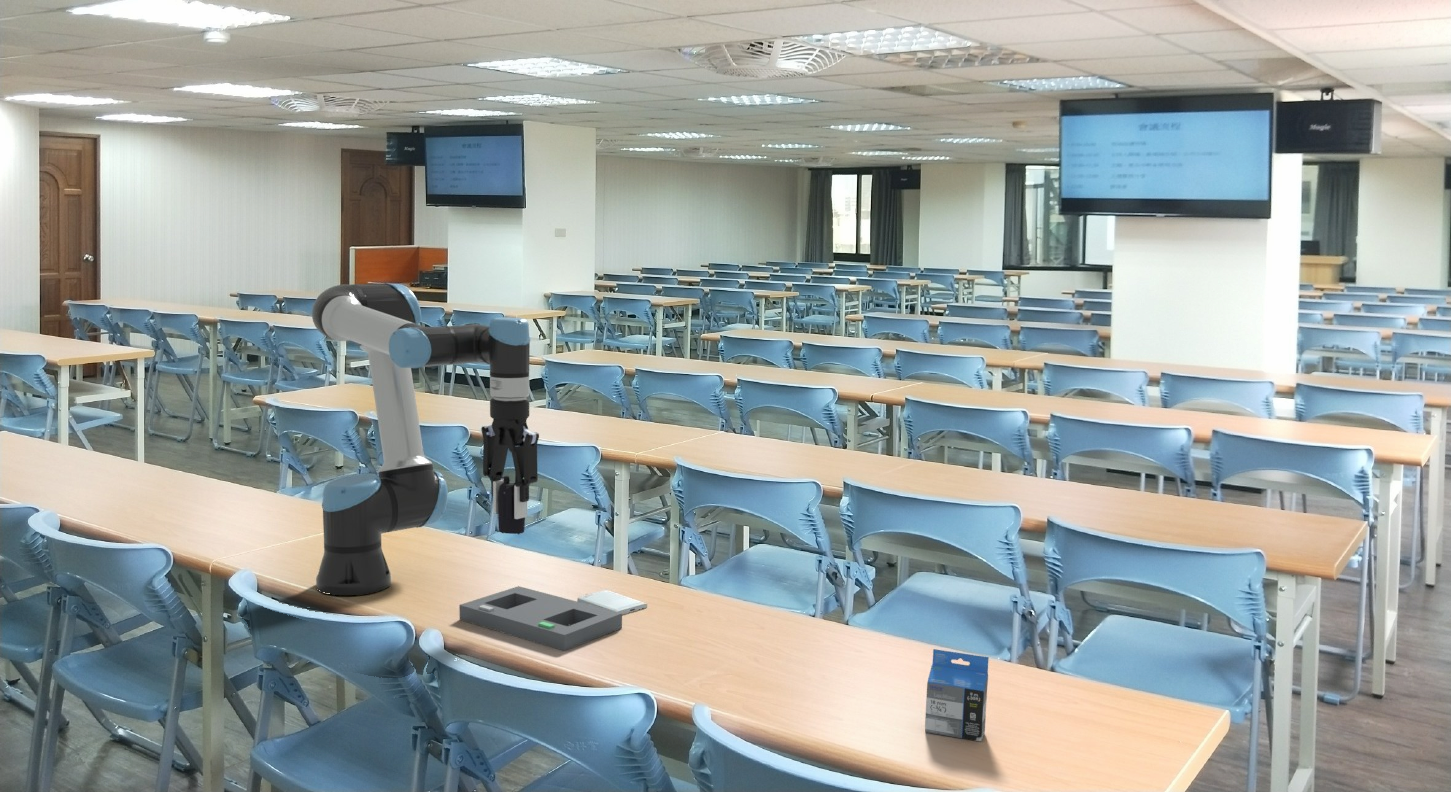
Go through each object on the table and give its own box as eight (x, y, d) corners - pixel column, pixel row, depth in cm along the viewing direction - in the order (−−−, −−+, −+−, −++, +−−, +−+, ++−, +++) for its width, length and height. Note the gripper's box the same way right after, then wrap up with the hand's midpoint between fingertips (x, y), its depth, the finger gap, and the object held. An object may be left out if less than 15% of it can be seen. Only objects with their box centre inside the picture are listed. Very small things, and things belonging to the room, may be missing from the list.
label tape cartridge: (923, 733, 186) (926, 656, 184) (928, 723, 189) (931, 648, 187) (981, 742, 182) (985, 665, 181) (985, 733, 186) (989, 656, 184)
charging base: (459, 619, 235) (459, 602, 234) (518, 600, 247) (518, 584, 247) (564, 650, 218) (564, 632, 218) (622, 628, 231) (622, 611, 231)
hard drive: (577, 597, 247) (617, 610, 238) (607, 589, 253) (647, 602, 244) (577, 605, 247) (617, 619, 239) (607, 596, 253) (647, 610, 245)
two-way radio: (527, 531, 237) (528, 457, 235) (521, 537, 233) (522, 462, 230) (500, 529, 238) (500, 455, 235) (493, 535, 233) (494, 460, 231)
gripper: (462, 395, 234) (463, 511, 237) (529, 404, 223) (529, 526, 227) (491, 391, 240) (491, 504, 243) (557, 400, 229) (557, 519, 233)
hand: (510, 515), depth 235 cm, fingers closed on two-way radio, 5 cm apart
